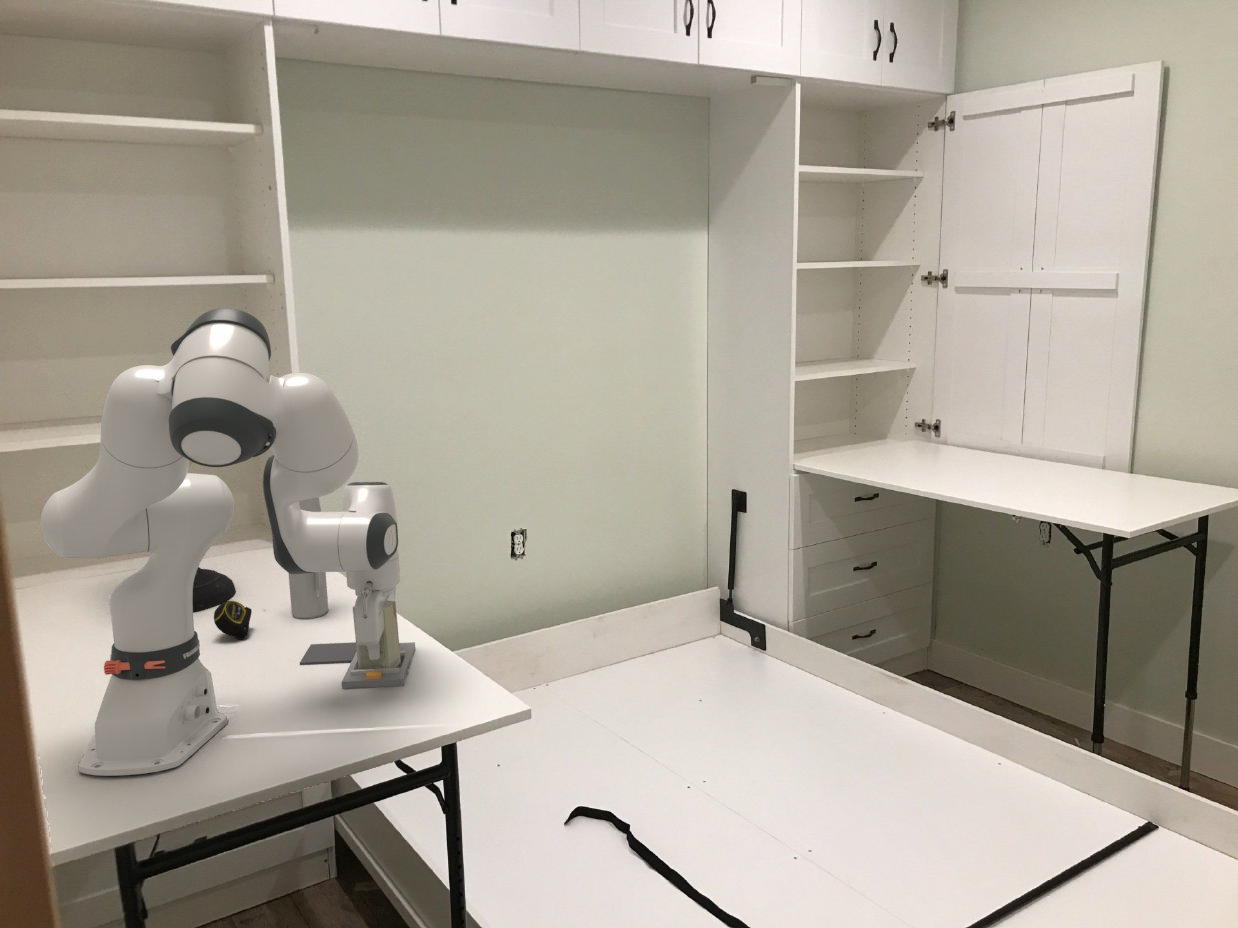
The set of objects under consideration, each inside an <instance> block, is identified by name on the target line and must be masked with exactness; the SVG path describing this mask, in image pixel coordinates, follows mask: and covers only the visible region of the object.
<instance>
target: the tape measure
mask: <svg viewBox="0 0 1238 928" xmlns="http://www.w3.org/2000/svg"><path fill="white" fill-rule="evenodd" d="M252 613H253V611H252V608H250V607H247V606H244V605H243V604H242V603H241V602H239V601H235V600H228V601H226V602H223V603H222V604H221V605H218V606H217V607H216V609H215V611H214V613H213V622H214V625H215V626H216V628H217V629H218V630H219V631H221V633H222V634H224V635H227V636H228V637H229V636H231V637H234V638H236V639H238V640H244V639H245V638H247V636H248V635H249V631H250V620H251V617H252Z"/></svg>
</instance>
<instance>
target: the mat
mask: <svg viewBox="0 0 1238 928" xmlns="http://www.w3.org/2000/svg"><path fill="white" fill-rule="evenodd" d="M356 651H357V649H356V641H354V642H353V641H352V642H334V643H332V642H331V643H313V644H310V646H309V647H308V648H307V650H306V652H305V653H304V655H303V656H302V658H301V660H300V661H299V666H304V665H327V664H345V663H346V664H347V663H350V664H351V661H352V659H353V657H354V655H355V653H356Z"/></svg>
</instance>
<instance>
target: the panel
mask: <svg viewBox="0 0 1238 928" xmlns="http://www.w3.org/2000/svg"><path fill="white" fill-rule="evenodd" d="M399 647H400V659H401V668H383V669H361V670H358V660H357V651H356V653H355V655H354V657H353V659H352V661H351V663H350V664H349V666H348V668H347V670H346V672H345V674H344V677H343V678H342V680H341V689H344V690H345V689H363V688H365V689H366V688H382V687H383V688H386V687H402V686H404V685H405V682H406V679H407V675H408V673H409V669H410V666H411V664H412V660H413V657H414V654H415V651H416V642H414V641H412V642H399Z"/></svg>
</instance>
